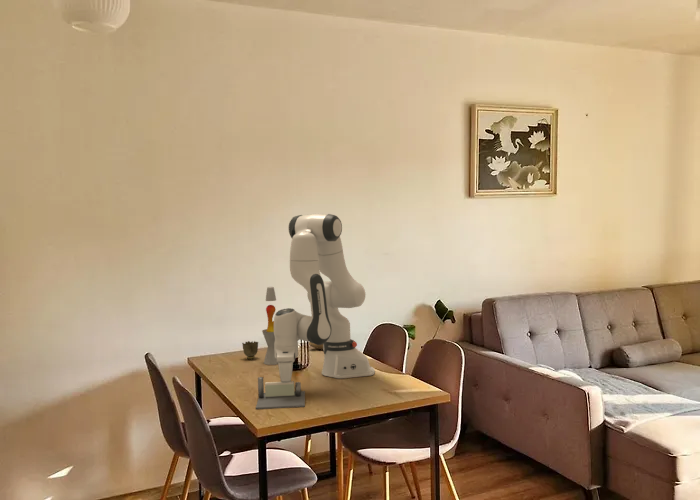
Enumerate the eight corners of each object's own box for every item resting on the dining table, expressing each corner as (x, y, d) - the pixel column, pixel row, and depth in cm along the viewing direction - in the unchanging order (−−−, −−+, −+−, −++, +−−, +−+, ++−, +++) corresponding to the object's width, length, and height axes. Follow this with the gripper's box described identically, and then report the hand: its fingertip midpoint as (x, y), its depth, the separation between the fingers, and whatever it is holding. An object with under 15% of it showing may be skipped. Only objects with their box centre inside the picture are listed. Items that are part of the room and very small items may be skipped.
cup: (250, 356, 300) (250, 340, 300) (262, 358, 296) (261, 341, 295) (239, 359, 294) (239, 343, 294) (250, 361, 290) (250, 344, 289)
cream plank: (265, 396, 228) (265, 383, 228) (265, 395, 230) (265, 382, 229) (294, 395, 229) (293, 382, 229) (294, 394, 230) (294, 381, 230)
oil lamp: (305, 349, 313) (304, 333, 313) (329, 345, 322) (329, 329, 322) (317, 353, 304) (317, 336, 304) (342, 348, 313) (341, 332, 313)
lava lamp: (274, 365, 281) (271, 288, 279) (259, 363, 285) (256, 287, 283) (286, 361, 288) (284, 286, 286) (271, 359, 293) (268, 285, 291)
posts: (301, 396, 231) (300, 375, 230) (301, 398, 229) (300, 376, 228) (258, 398, 230) (258, 377, 229) (258, 400, 228) (257, 378, 227)
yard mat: (304, 392, 236) (304, 391, 236) (304, 406, 218) (304, 405, 218) (259, 394, 235) (259, 393, 235) (255, 409, 217) (255, 407, 217)
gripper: (279, 346, 245) (280, 381, 245) (276, 358, 224) (277, 396, 225) (295, 346, 245) (296, 380, 246) (293, 357, 225) (294, 395, 225)
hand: (287, 388), depth 235 cm, fingers closed
